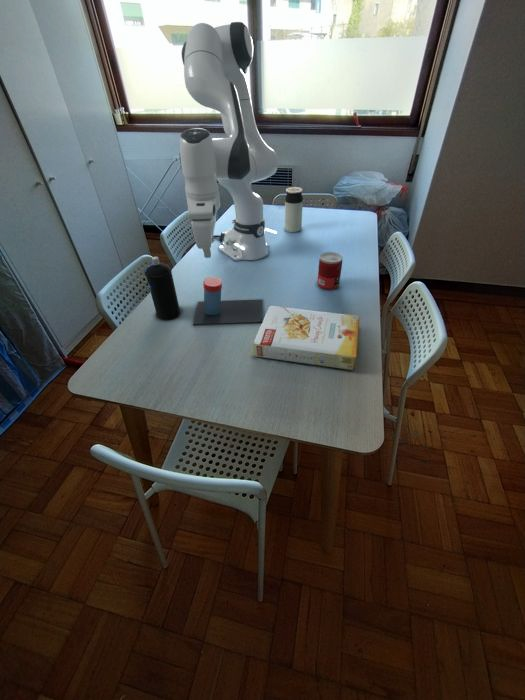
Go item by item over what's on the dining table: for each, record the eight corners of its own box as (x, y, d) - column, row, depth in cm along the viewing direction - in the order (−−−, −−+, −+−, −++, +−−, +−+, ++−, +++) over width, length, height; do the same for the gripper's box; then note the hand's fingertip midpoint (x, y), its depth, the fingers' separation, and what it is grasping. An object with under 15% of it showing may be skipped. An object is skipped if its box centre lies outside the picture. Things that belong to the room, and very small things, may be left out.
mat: (193, 325, 112) (193, 324, 111) (198, 302, 121) (198, 301, 121) (262, 323, 111) (262, 321, 111) (261, 300, 121) (261, 299, 121)
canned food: (338, 291, 124) (342, 262, 117) (316, 289, 126) (318, 261, 119) (339, 280, 130) (343, 252, 123) (317, 278, 131) (320, 251, 124)
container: (202, 315, 113) (202, 285, 106) (204, 305, 118) (204, 276, 111) (220, 316, 114) (221, 287, 107) (221, 306, 118) (222, 277, 111)
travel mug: (301, 232, 164) (303, 192, 152) (285, 232, 165) (285, 192, 153) (300, 225, 170) (302, 186, 158) (284, 226, 171) (285, 187, 159)
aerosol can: (185, 308, 119) (174, 253, 106) (173, 322, 113) (159, 266, 100) (164, 304, 121) (150, 250, 108) (151, 317, 115) (135, 262, 102)
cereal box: (357, 356, 90) (252, 342, 95) (354, 372, 93) (252, 357, 99) (360, 313, 105) (268, 303, 110) (357, 328, 108) (268, 317, 114)
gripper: (196, 188, 101) (202, 234, 111) (186, 215, 86) (194, 266, 96) (218, 188, 101) (222, 233, 111) (212, 215, 86) (217, 265, 96)
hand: (209, 249), depth 103 cm, fingers open, 8 cm apart
